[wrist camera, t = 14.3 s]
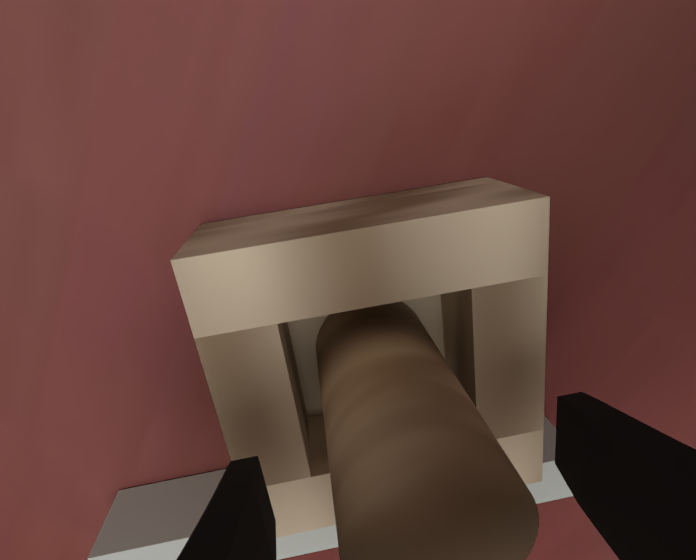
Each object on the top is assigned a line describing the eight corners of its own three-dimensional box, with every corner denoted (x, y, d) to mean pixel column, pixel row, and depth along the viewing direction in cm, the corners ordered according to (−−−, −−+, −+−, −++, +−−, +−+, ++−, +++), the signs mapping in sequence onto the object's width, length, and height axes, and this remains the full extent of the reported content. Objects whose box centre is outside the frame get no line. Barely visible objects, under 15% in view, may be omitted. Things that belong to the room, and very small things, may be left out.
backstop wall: (536, 406, 19) (578, 455, 16) (536, 442, 20) (576, 495, 17) (118, 490, 18) (87, 558, 15) (133, 525, 19) (106, 596, 16)
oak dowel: (443, 316, 16) (576, 491, 9) (394, 404, 17) (476, 626, 10) (343, 278, 15) (397, 437, 8) (298, 373, 16) (306, 595, 9)
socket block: (487, 176, 15) (550, 196, 12) (492, 409, 19) (541, 480, 15) (200, 224, 15) (170, 260, 11) (262, 455, 18) (255, 542, 15)
